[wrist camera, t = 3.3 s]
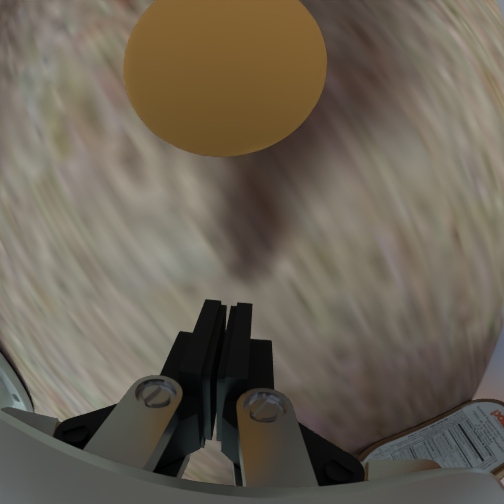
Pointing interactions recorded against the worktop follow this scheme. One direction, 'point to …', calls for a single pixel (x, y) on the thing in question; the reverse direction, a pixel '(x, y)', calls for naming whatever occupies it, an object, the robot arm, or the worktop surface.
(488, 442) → the tin
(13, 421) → the robot arm
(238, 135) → the ball
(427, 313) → the worktop surface
